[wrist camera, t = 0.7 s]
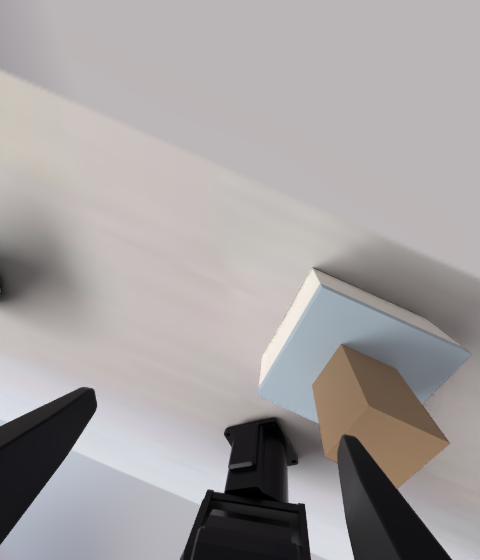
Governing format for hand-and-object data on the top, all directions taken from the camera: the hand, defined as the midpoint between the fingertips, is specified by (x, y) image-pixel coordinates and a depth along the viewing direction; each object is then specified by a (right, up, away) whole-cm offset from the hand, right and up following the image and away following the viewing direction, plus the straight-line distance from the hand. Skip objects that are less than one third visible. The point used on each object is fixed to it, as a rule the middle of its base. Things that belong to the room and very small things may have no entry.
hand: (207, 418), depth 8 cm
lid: (+9, -2, +9) cm, 13 cm away
